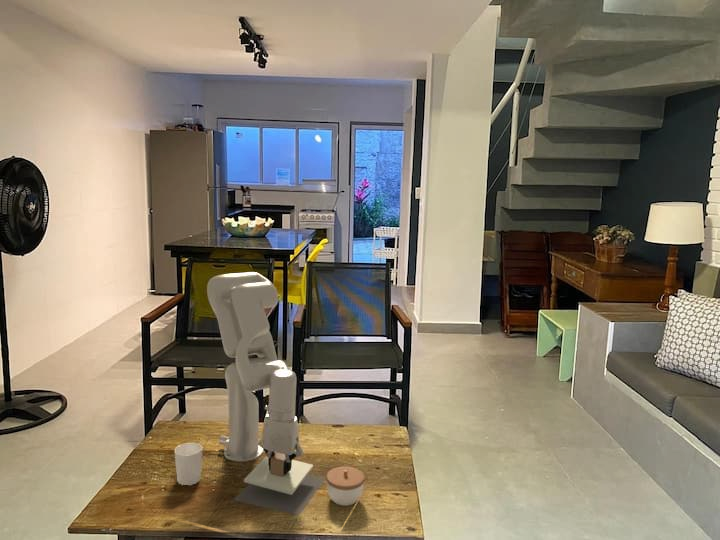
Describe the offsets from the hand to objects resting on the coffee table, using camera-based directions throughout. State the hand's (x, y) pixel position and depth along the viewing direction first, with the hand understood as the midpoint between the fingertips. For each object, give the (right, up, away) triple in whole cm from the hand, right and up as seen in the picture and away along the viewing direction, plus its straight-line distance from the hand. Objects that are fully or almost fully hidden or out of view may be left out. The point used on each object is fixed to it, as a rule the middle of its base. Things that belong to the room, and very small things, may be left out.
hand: (279, 469), depth 165 cm
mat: (0, -6, 0) cm, 6 cm away
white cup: (-28, -5, +4) cm, 28 cm away
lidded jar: (+19, -8, -4) cm, 21 cm away
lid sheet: (0, -1, 0) cm, 1 cm away
